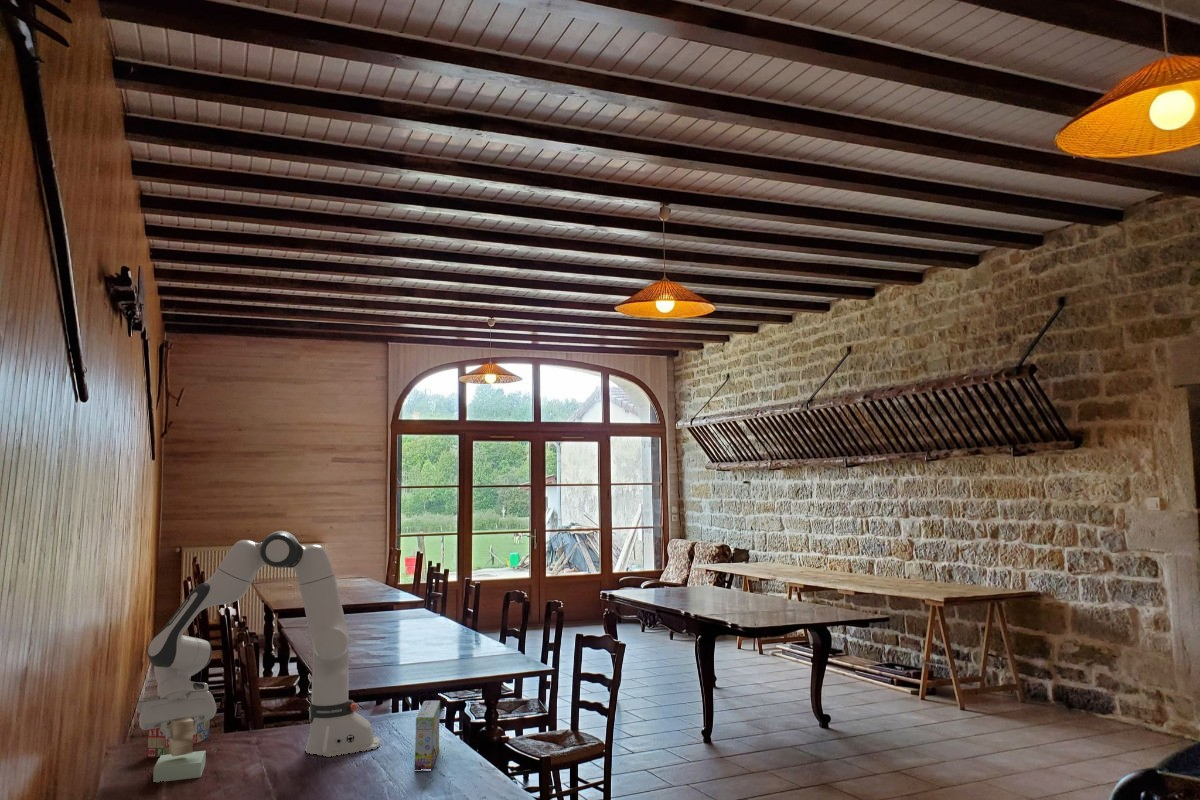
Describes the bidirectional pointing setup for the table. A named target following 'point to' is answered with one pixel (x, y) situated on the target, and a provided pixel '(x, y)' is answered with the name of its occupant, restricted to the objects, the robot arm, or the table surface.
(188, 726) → the maple block
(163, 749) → the stack of blocks
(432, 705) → the snack box
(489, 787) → the table surface
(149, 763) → the table surface
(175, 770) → the plinth
